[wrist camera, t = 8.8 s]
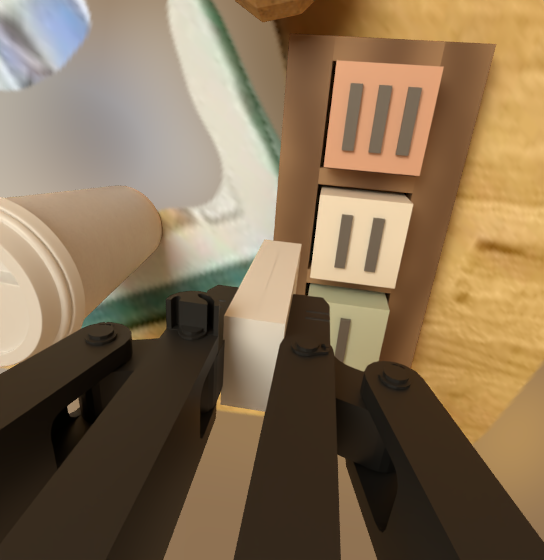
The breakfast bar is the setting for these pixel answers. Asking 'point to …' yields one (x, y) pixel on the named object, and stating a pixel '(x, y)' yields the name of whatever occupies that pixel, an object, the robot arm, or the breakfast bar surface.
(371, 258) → the tile
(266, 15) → the potato
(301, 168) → the board
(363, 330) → the slotted block
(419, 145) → the tile
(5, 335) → the coffee cup
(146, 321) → the breakfast bar surface
